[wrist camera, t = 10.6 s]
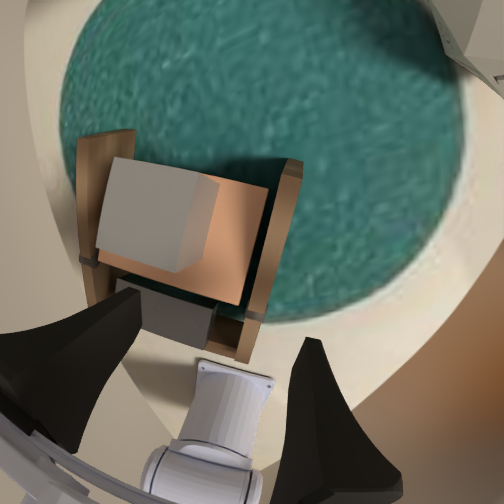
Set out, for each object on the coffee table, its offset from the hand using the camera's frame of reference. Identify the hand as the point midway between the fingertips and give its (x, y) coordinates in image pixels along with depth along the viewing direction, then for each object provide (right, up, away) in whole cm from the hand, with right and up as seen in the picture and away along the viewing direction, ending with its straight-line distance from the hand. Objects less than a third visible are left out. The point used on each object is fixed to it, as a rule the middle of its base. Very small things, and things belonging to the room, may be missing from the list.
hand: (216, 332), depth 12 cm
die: (+17, +18, -1) cm, 25 cm away
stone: (-3, +6, +5) cm, 8 cm away
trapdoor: (-4, +3, +8) cm, 9 cm away
